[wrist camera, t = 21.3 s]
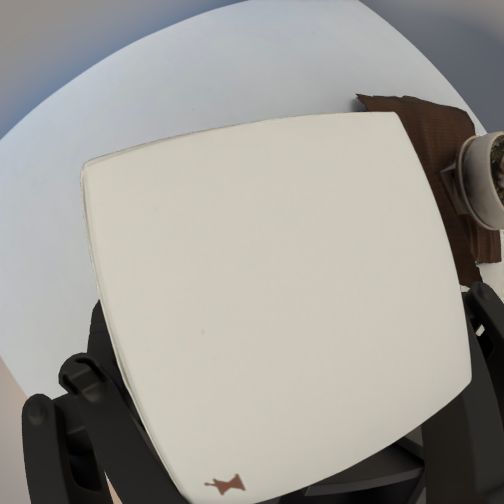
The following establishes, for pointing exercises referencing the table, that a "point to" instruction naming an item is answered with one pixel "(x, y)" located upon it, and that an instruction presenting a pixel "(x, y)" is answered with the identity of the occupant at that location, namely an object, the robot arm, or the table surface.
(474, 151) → the potted plant
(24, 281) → the table surface
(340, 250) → the white packaging box
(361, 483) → the drawer
